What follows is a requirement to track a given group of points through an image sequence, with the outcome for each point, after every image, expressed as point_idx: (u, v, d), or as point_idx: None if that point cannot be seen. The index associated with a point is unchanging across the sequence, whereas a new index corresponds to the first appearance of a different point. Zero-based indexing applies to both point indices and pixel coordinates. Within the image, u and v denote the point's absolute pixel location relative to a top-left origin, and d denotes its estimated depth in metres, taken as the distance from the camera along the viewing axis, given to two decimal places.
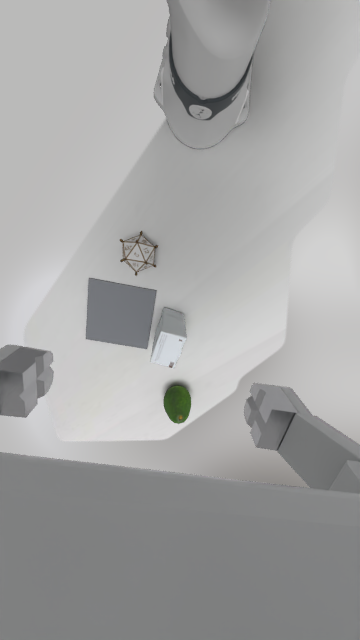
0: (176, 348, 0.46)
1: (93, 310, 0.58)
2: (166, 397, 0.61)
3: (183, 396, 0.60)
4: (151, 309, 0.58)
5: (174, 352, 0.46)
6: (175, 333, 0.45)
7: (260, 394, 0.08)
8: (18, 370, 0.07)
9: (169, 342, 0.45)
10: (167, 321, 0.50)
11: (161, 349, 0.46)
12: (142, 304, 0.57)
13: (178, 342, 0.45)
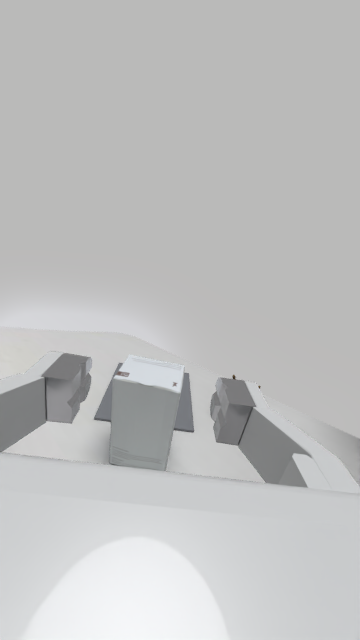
0: (158, 379, 0.26)
1: None
2: None
3: None
4: None
5: (149, 377, 0.26)
6: (182, 382, 0.27)
7: (222, 388, 0.08)
8: (67, 377, 0.07)
9: (167, 371, 0.28)
10: None
11: (153, 364, 0.29)
12: None
13: (170, 381, 0.26)
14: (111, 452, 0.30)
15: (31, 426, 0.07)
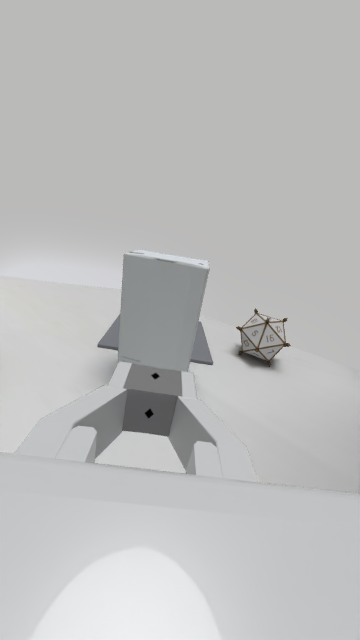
0: (179, 259, 0.21)
1: None
2: None
3: None
4: None
5: (169, 257, 0.21)
6: None
7: (156, 378, 0.08)
8: (147, 389, 0.07)
9: (189, 259, 0.23)
10: None
11: (172, 255, 0.24)
12: None
13: (194, 262, 0.21)
14: None
15: (112, 436, 0.07)
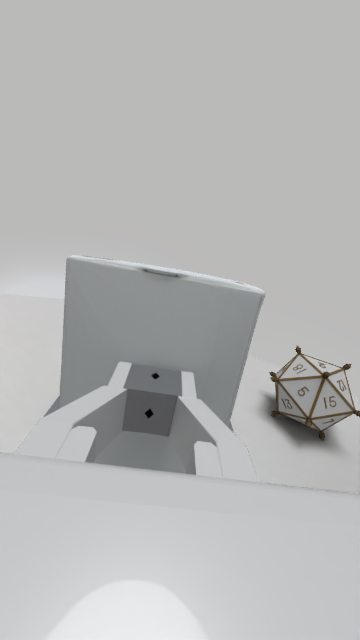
0: None
1: None
2: None
3: None
4: None
5: (169, 268, 0.10)
6: None
7: (156, 379, 0.08)
8: (147, 389, 0.07)
9: (209, 275, 0.11)
10: None
11: None
12: None
13: (225, 279, 0.10)
14: None
15: (112, 436, 0.07)
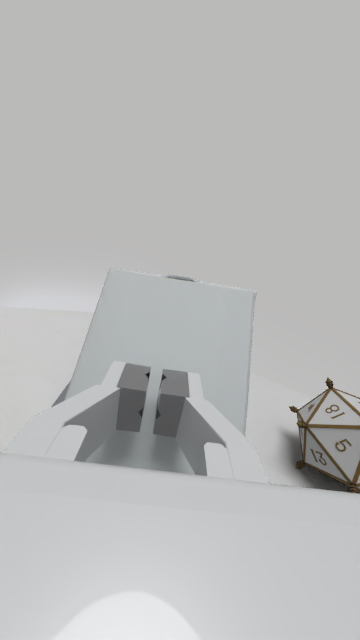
0: None
1: None
2: None
3: None
4: None
5: None
6: None
7: (162, 379, 0.08)
8: (140, 388, 0.07)
9: None
10: None
11: None
12: None
13: None
14: None
15: (106, 435, 0.07)
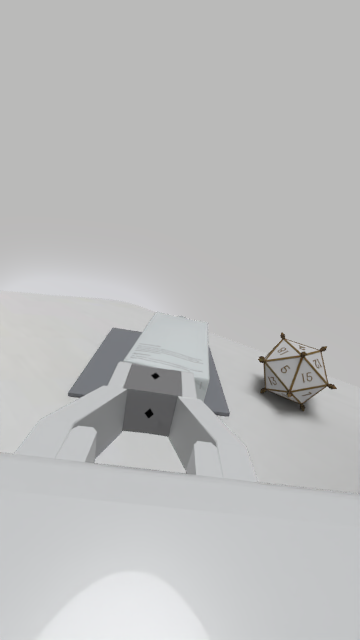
0: None
1: None
2: None
3: None
4: None
5: None
6: None
7: (156, 378, 0.08)
8: (147, 389, 0.07)
9: None
10: None
11: None
12: None
13: None
14: (134, 348, 0.22)
15: (112, 436, 0.07)
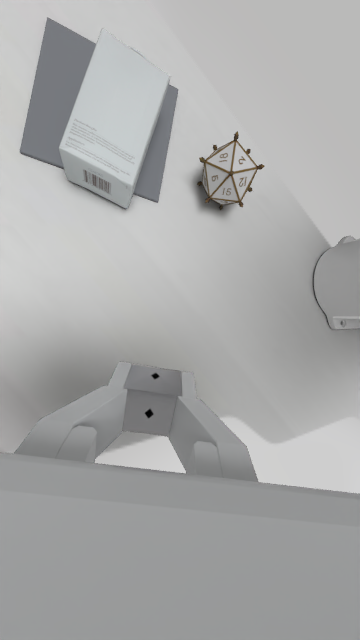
0: None
1: None
2: None
3: None
4: None
5: None
6: (163, 98, 0.28)
7: (156, 379, 0.08)
8: (147, 389, 0.07)
9: None
10: None
11: None
12: None
13: None
14: (68, 129, 0.22)
15: (112, 436, 0.07)
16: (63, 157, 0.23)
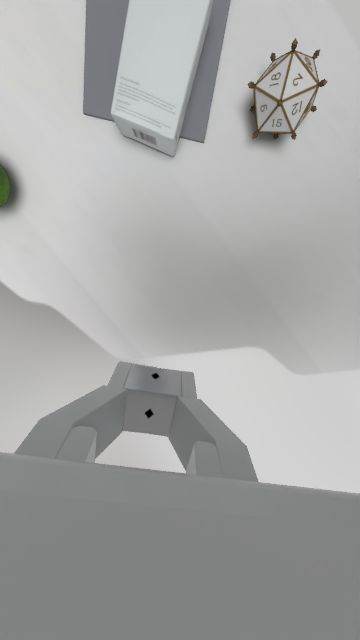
0: None
1: None
2: None
3: None
4: None
5: None
6: (212, 3, 0.24)
7: (156, 378, 0.08)
8: (147, 389, 0.07)
9: None
10: (195, 72, 0.28)
11: None
12: None
13: None
14: (116, 90, 0.25)
15: (112, 436, 0.07)
16: (115, 119, 0.27)
